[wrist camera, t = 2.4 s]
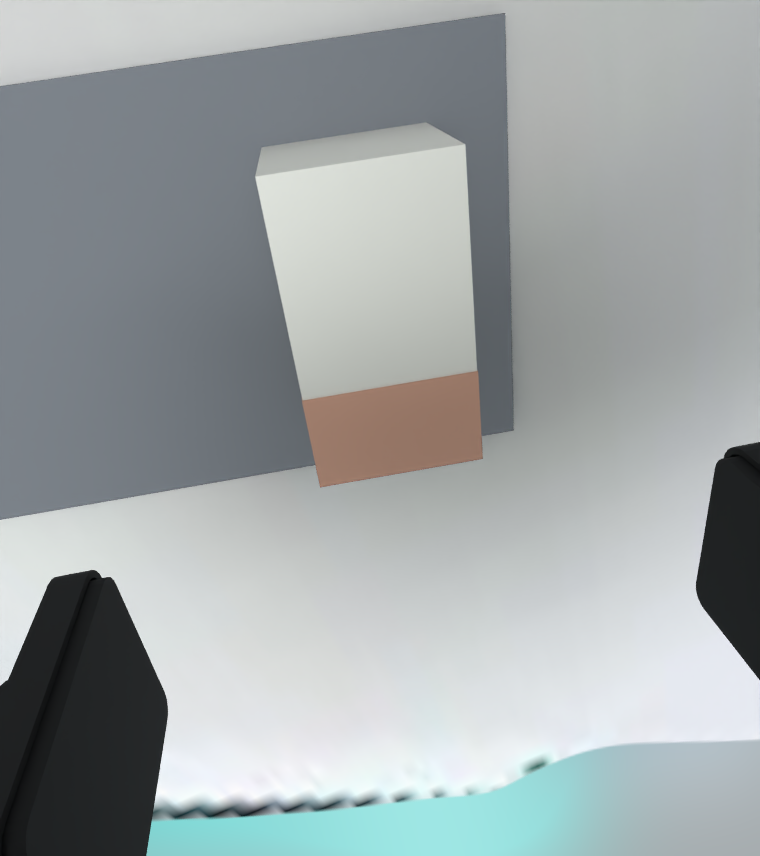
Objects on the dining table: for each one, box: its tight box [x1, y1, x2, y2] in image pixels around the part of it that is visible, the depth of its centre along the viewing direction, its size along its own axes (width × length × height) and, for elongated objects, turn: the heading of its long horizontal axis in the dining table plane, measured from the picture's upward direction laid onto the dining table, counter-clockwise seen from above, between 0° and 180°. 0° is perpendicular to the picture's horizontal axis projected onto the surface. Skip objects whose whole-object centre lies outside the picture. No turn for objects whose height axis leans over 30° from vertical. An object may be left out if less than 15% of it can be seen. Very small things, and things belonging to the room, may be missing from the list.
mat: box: [0, 13, 514, 520], centre depth 22 cm, size 24×14×1 cm, turn 97°
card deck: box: [255, 122, 483, 487], centre depth 20 cm, size 5×9×5 cm, turn 7°
